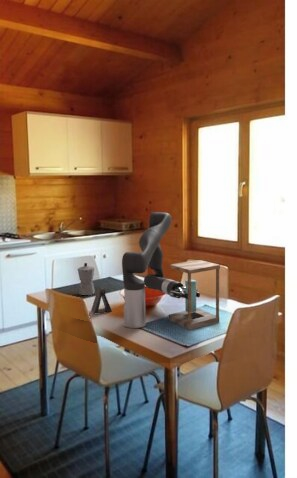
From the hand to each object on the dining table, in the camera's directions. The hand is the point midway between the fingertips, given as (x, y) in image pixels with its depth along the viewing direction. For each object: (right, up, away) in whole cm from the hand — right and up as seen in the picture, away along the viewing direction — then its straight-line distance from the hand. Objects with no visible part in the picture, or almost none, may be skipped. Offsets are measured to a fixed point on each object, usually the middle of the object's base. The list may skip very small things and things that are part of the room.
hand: (194, 296), depth 198 cm
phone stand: (-44, -10, +19) cm, 49 cm away
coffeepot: (-56, -5, +51) cm, 76 cm away
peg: (-1, -7, +3) cm, 8 cm away
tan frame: (0, -12, +2) cm, 12 cm away
